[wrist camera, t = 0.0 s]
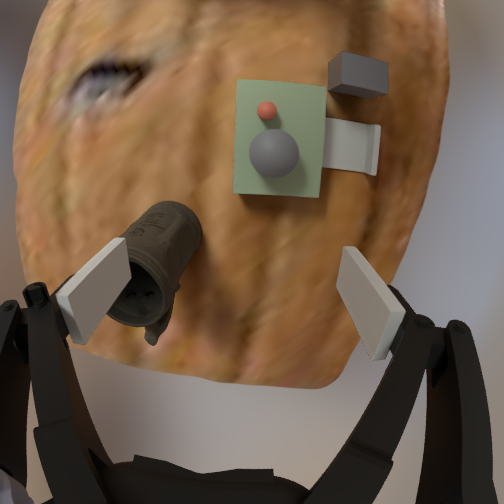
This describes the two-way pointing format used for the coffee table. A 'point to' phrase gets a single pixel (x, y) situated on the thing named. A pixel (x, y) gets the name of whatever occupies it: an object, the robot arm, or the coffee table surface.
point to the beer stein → (156, 266)
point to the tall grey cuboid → (357, 75)
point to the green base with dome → (294, 140)
